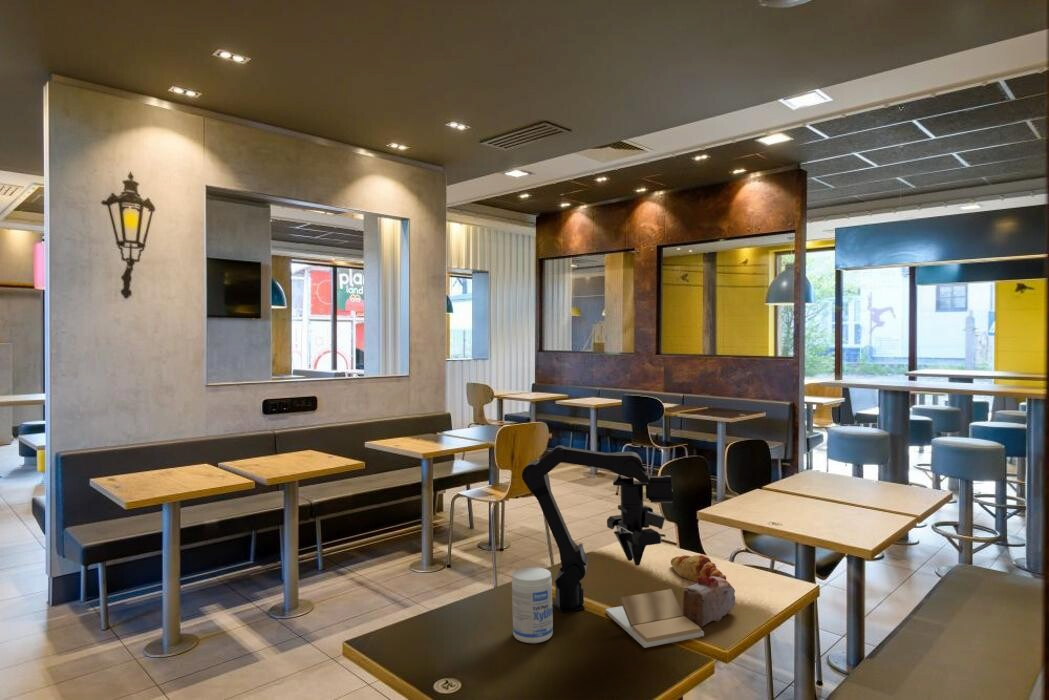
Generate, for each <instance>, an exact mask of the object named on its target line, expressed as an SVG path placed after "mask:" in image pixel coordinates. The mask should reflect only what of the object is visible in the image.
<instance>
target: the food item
mask: <svg viewBox="0 0 1049 700" xmlns="http://www.w3.org/2000/svg"><path fill="white" fill-rule="evenodd" d="M697 580H698V582H697V583H695V584H693V585H689V586H687V587H685V588H683V595H682V596H683V597H682V598H683V600H682V601H683V602H682V613H683V615H684V616H685V617H686V618H688V619H689V620H691V621H692V622H693V623H695V624H696V625H698V626H699V627H700V626H702V627H701V628H703V627H705V626H706V625H707V624H709V623H711V622H712V621H713V622H714V621H715V622H720V621H721V620H722V619H723V617H725V616H726V615H727V614H728V613H731V611H732V610H734V608H735V606H736V596H735V593H736V589H735V588H734V587H733V586H732V585H731V583H730V582H729V581H727V579H726V580H725V579H723V578H721V577H715V576H711V577H710V578H709V576H708V577H706V576H704V577H702V576H701V577H700V578H698V579H697ZM719 620H720V621H719Z"/></svg>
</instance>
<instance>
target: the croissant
mask: <svg viewBox="0 0 1049 700" xmlns="http://www.w3.org/2000/svg"><path fill="white" fill-rule="evenodd" d="M670 565H671V566H672V569H673V570H674V571H675V572H676V574H678V575H679V576H680V577H681V578H684V579H686V580H689V581H692V582H697V583H698V580H697V579H698V578H700V577H701V576H702V577H704V576H706V577H708V576H709V578H710V577H711V576H715V577H721V578H723V579H725V580H726V581H727V576H726V575H724V574H723V572H722V571H721V570H720V569H718V568H717V565H716V563H714V562H713V561H711V559H710V558H709V557H708V556H706V555H703V554H697V555H696V554H695V555H688V554H687V555H681V556H675V557H672V558H671V559H670Z"/></svg>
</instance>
